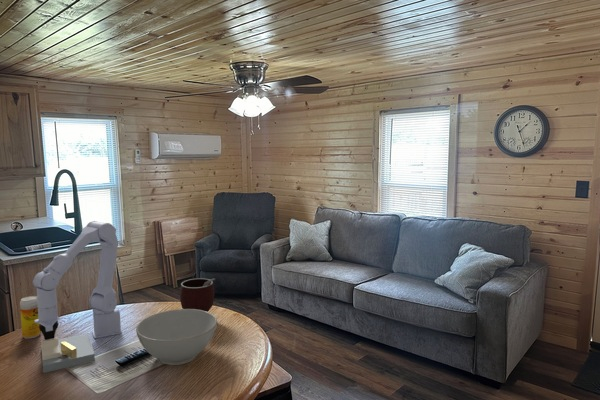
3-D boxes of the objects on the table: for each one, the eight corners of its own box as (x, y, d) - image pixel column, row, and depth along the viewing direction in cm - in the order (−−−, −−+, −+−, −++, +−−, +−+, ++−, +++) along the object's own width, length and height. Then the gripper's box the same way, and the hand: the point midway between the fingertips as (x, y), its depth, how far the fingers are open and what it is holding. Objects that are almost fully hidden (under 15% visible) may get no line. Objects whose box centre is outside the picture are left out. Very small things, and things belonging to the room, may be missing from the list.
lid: (58, 346, 146) (58, 337, 146) (60, 356, 139) (59, 346, 139) (41, 350, 144) (41, 340, 143) (42, 360, 137) (41, 350, 136)
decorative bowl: (119, 367, 138) (117, 332, 136) (172, 334, 163) (171, 304, 161) (186, 384, 128) (185, 346, 127) (231, 346, 153) (231, 315, 151)
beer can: (32, 340, 157) (29, 301, 155) (18, 338, 158) (15, 300, 156) (44, 333, 163) (42, 296, 161) (31, 331, 164) (29, 295, 162)
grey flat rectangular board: (88, 339, 158) (88, 333, 157) (94, 360, 142) (94, 353, 142) (41, 349, 150) (41, 342, 149) (43, 373, 134) (42, 365, 134)
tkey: (77, 360, 137) (76, 347, 136) (71, 362, 135) (71, 349, 135) (66, 352, 142) (65, 340, 141) (60, 354, 140) (59, 342, 140)
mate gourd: (173, 326, 170) (172, 278, 168) (193, 314, 183) (192, 270, 181) (206, 332, 165) (205, 283, 163) (224, 319, 178) (223, 273, 176)
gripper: (33, 301, 148) (36, 338, 150) (33, 315, 136) (36, 354, 138) (56, 298, 152) (58, 333, 153) (58, 311, 140) (61, 349, 141)
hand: (49, 343), depth 146 cm, fingers closed
